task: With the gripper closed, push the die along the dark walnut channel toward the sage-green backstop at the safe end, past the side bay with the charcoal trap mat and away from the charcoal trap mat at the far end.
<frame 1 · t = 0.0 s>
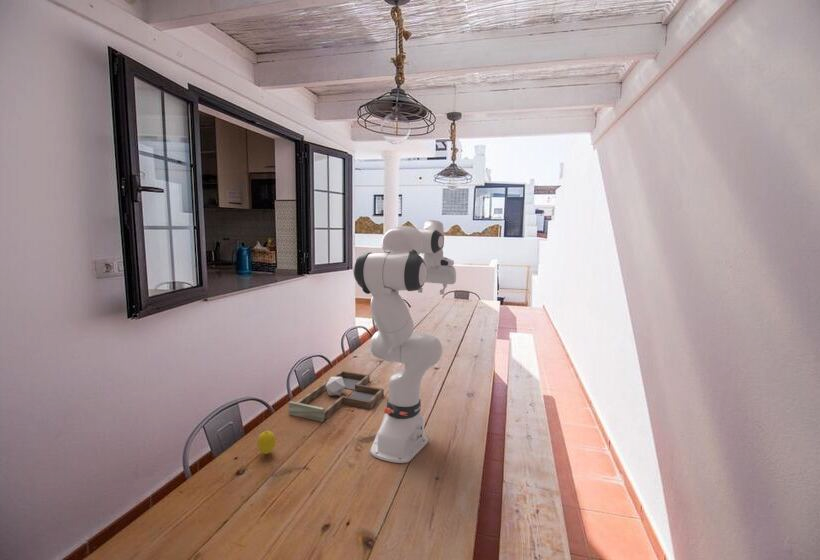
hand: (431, 293, 159), 48 cm above the table, tool pointing down, fingers open, 8 cm apart
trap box: (334, 395, 168), on the table
end trap mat: (348, 383, 181), on the table
die: (335, 394, 170), on the table
side trap mat: (361, 399, 166), on the table
lemon: (266, 454, 124), on the table
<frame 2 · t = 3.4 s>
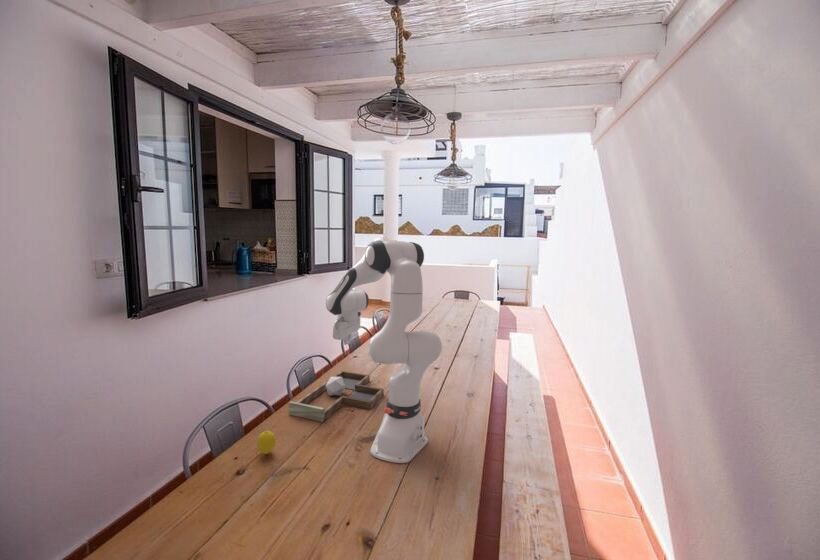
hand: (346, 343, 176), 20 cm above the table, tool pointing down, fingers closed
nothing on the table moved.
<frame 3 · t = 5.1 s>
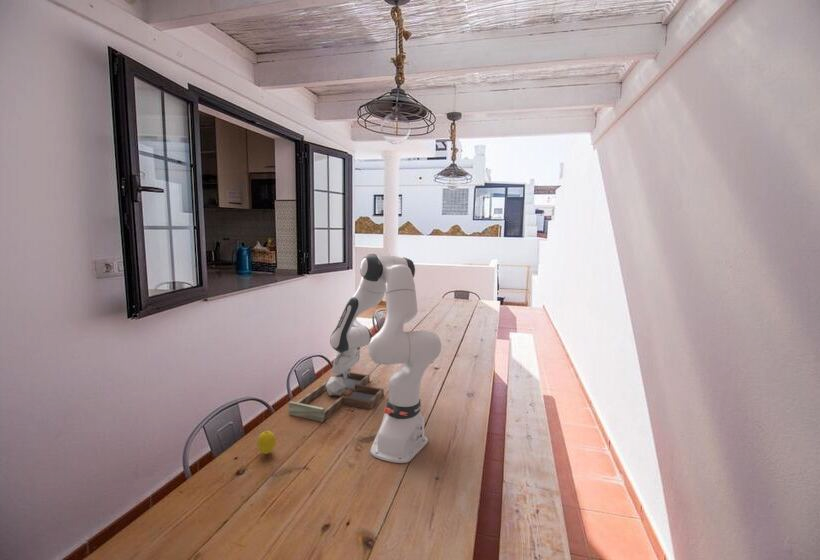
hand: (346, 377, 178), 4 cm above the table, tool pointing down, fingers closed
nothing on the table moved.
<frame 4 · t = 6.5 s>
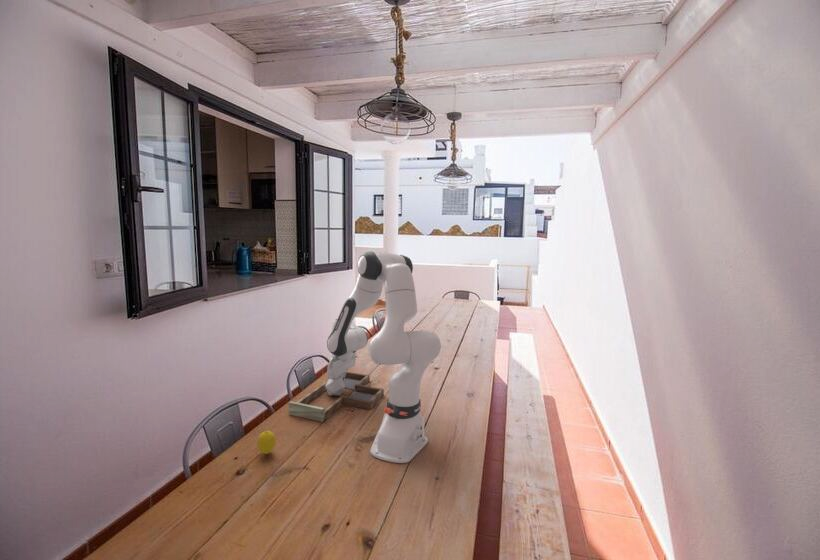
hand: (341, 381, 174), 4 cm above the table, tool pointing down, fingers closed
die: (335, 394, 170), on the table, touching gripper
everything else where it was.
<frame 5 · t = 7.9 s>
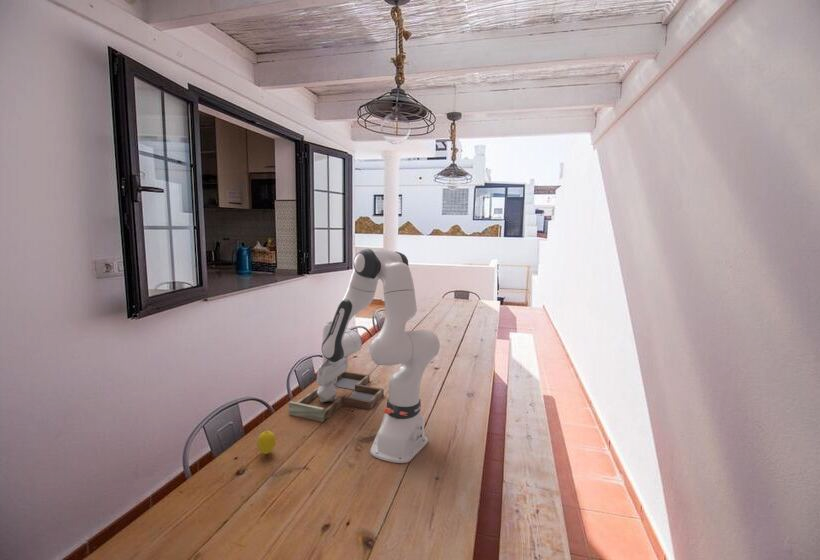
hand: (332, 387, 167), 4 cm above the table, tool pointing down, fingers closed
die: (327, 400, 163), on the table, touching gripper
everything else where it was.
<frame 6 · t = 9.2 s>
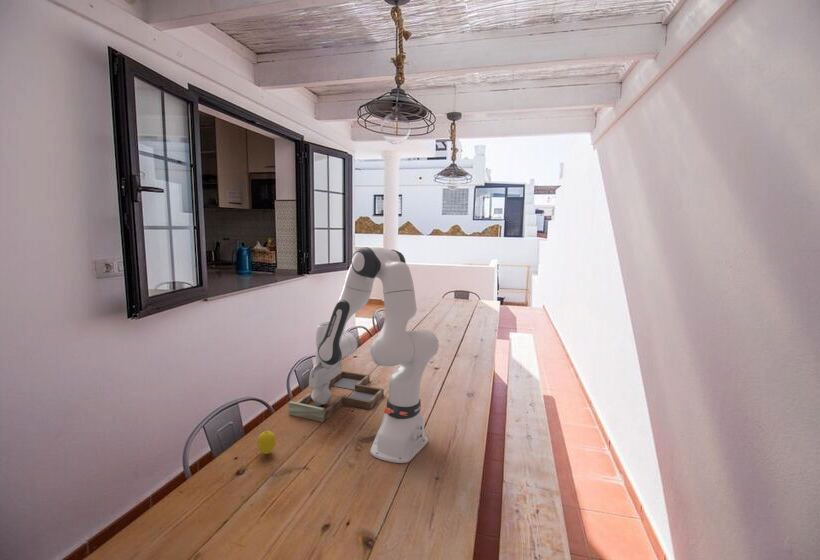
hand: (325, 390, 162), 5 cm above the table, tool pointing down, fingers closed, pressing on die
die: (322, 402, 160), on the table, touching gripper
everything else where it was.
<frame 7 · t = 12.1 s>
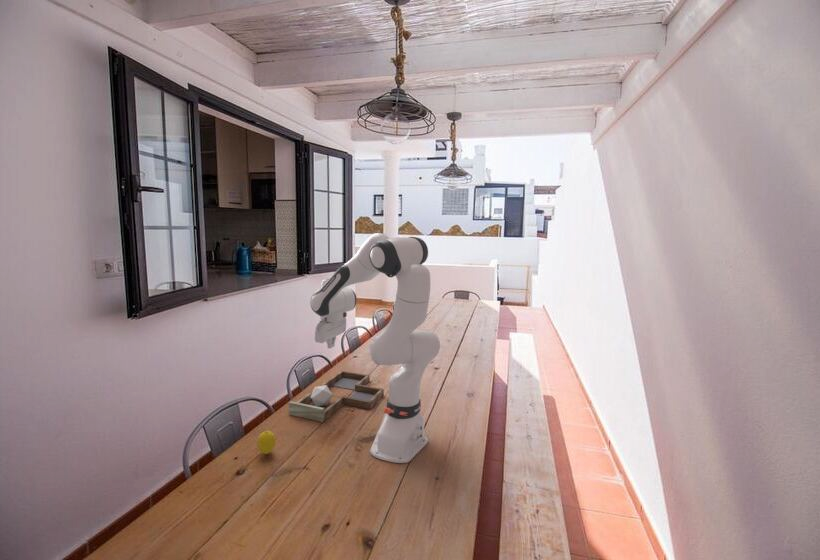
hand: (331, 347, 162), 23 cm above the table, tool pointing down, fingers closed
die: (321, 405, 159), on the table
everything else where it was.
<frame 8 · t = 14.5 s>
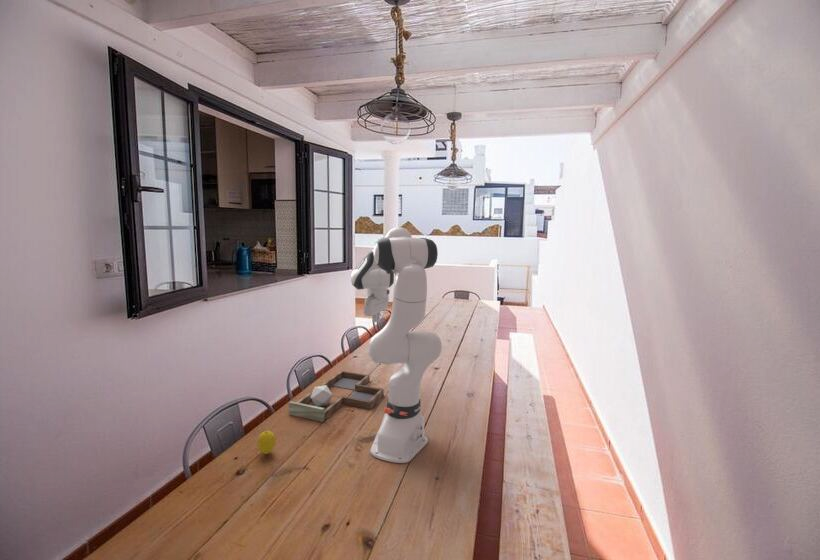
hand: (376, 321, 177), 31 cm above the table, tool pointing down, fingers closed
nothing on the table moved.
at the end: die inside the target area (2.9 cm from its centre), on the table; die tilted 0°; die touching table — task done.
